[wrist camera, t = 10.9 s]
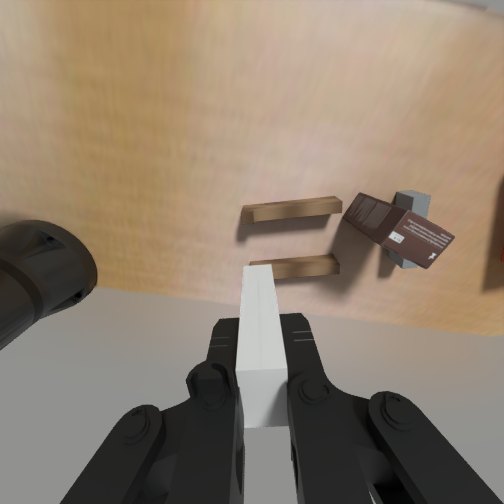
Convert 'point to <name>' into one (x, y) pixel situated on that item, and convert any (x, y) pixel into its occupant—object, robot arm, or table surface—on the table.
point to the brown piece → (291, 210)
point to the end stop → (415, 204)
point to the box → (398, 229)
